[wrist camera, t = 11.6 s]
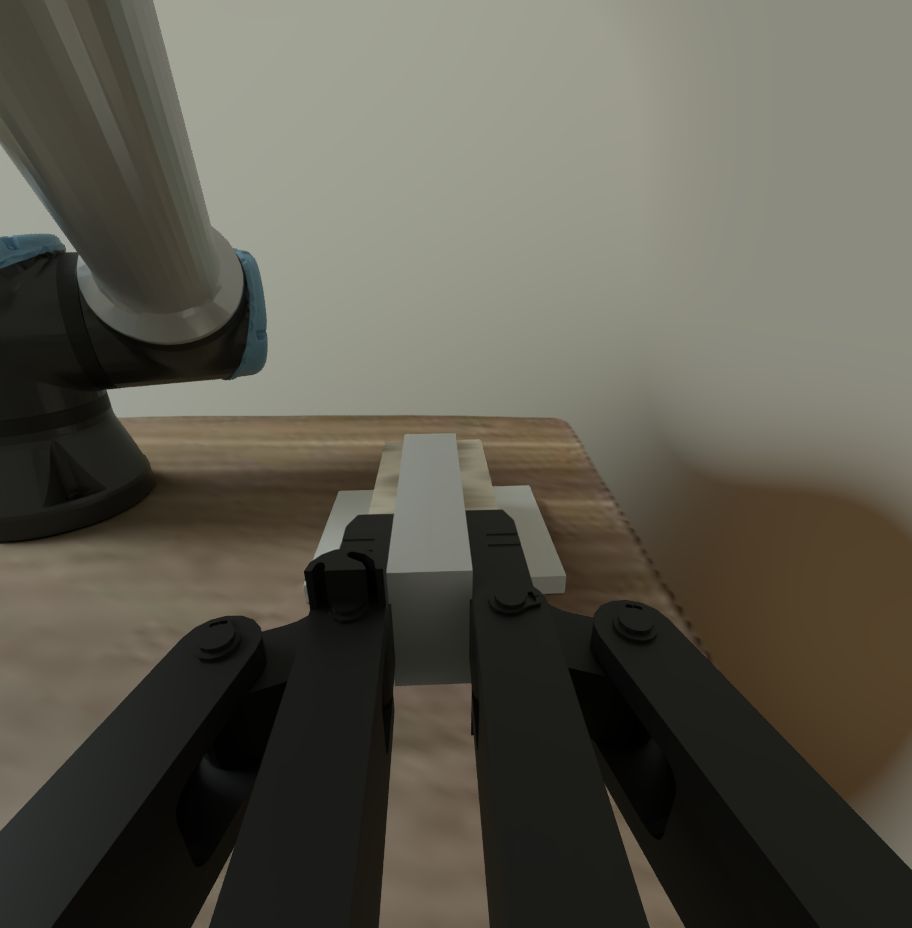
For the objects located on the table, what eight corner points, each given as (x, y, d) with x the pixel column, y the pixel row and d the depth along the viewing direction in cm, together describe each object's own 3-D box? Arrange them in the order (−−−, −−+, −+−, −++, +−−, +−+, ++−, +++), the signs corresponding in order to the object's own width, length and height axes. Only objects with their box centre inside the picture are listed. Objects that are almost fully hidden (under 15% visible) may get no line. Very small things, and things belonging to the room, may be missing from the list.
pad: (306, 602, 34) (303, 585, 33) (340, 505, 47) (338, 490, 46) (564, 593, 35) (566, 575, 34) (528, 499, 47) (529, 485, 47)
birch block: (364, 530, 28) (385, 441, 41) (372, 612, 31) (389, 504, 43) (502, 526, 29) (480, 439, 41) (499, 608, 31) (479, 502, 44)
